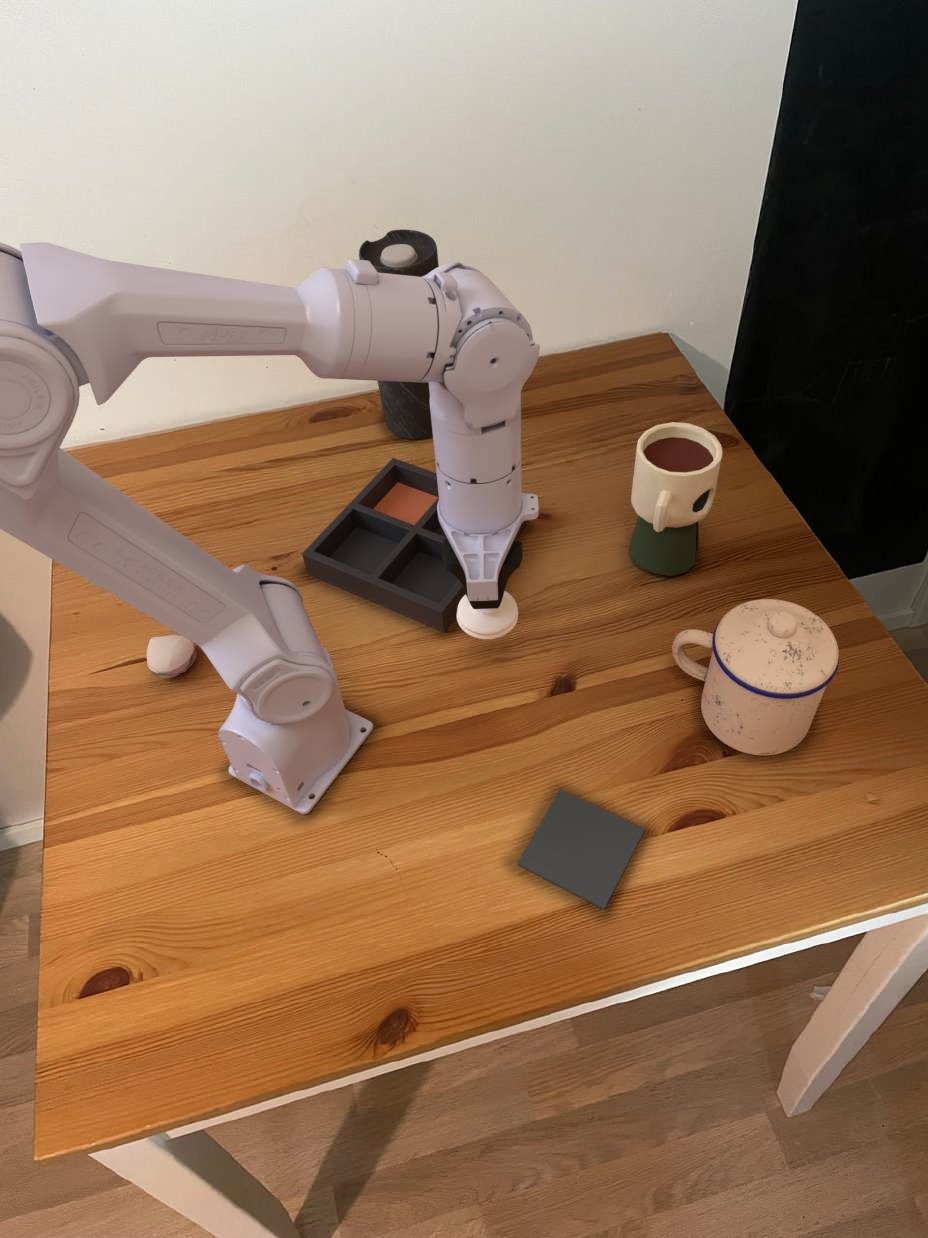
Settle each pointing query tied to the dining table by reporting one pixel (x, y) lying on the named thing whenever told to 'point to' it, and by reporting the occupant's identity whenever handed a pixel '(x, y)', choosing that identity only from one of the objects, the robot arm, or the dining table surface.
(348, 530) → the tray
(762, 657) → the teacup with lid
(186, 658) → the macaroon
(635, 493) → the character mug
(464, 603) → the chess piece
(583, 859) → the coaster
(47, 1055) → the dining table surface
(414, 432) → the travel mug
